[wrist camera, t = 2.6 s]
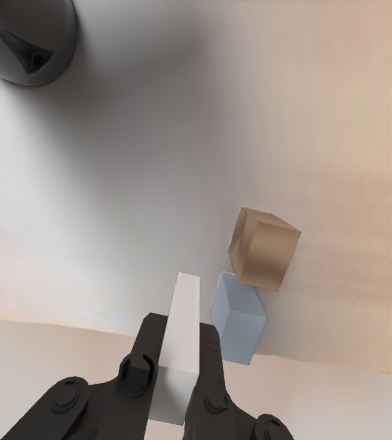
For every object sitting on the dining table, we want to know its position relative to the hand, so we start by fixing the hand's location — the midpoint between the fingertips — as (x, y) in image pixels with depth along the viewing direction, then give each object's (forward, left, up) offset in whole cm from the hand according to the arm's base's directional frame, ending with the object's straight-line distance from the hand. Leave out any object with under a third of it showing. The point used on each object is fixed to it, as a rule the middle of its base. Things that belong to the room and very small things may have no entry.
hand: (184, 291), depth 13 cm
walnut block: (0, +9, -20) cm, 22 cm away
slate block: (+12, +9, -20) cm, 25 cm away
